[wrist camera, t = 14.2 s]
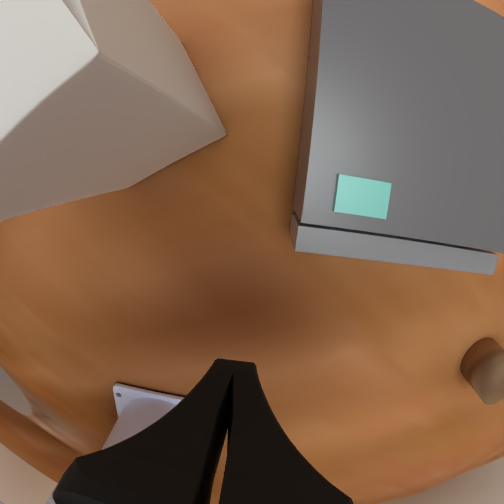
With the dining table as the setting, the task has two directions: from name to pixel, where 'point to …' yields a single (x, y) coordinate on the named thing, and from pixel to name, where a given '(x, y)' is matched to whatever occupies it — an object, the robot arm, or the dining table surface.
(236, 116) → the dining table surface
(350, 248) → the grey drawer
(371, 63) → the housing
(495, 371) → the brown cylinder
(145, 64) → the milk carton
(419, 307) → the dining table surface
